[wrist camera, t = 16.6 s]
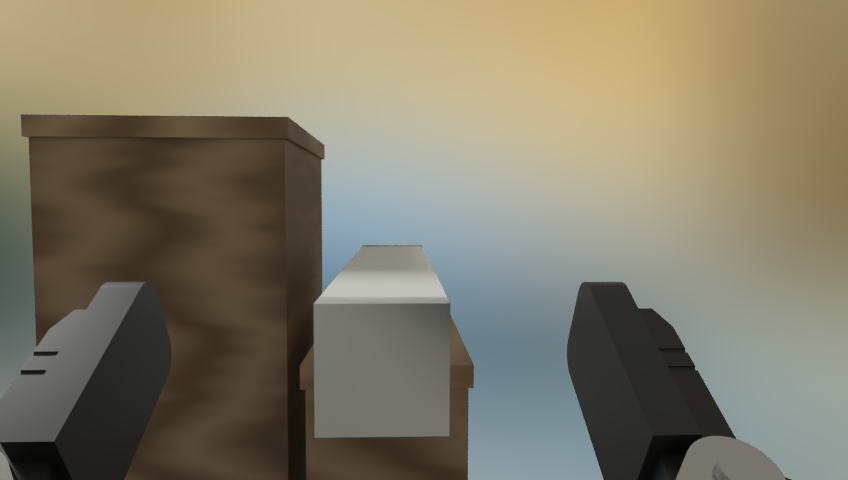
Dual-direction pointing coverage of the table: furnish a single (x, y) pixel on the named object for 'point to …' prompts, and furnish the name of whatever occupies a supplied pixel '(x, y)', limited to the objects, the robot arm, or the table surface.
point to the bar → (382, 348)
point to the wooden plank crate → (214, 289)
